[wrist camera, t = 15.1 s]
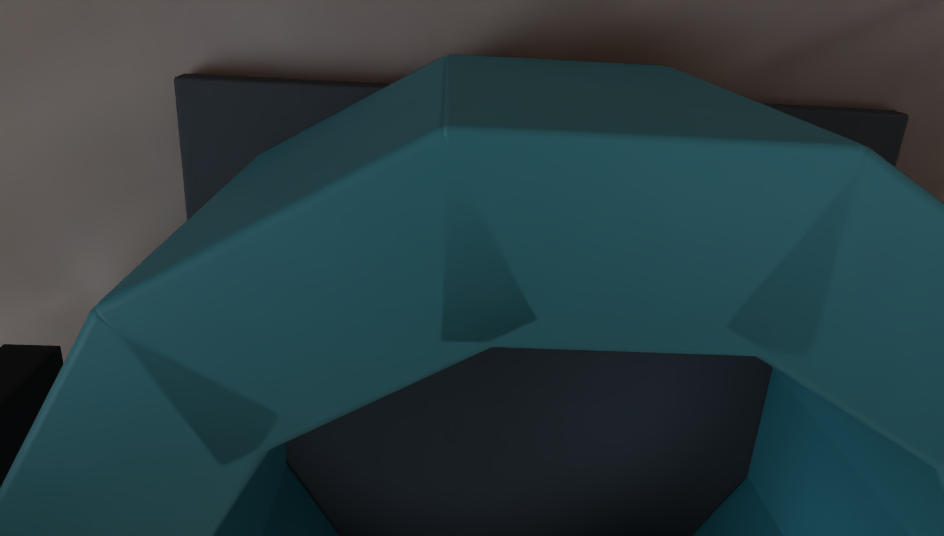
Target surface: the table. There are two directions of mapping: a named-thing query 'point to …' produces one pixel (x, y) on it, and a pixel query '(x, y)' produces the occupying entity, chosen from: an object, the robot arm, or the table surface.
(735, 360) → the mat
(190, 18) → the table surface
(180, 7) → the table surface
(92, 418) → the tape roll
